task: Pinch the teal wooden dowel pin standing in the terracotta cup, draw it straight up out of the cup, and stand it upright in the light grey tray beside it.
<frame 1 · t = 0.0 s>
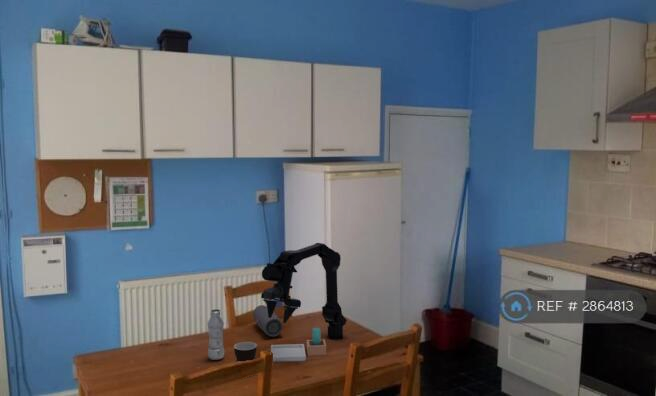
hand: (276, 320, 220), 15 cm above the table, tool pointing down, fingers open, 9 cm apart
dowel pin: (316, 340, 227), in the pin cup
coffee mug: (247, 370, 209), on the table
grey tray: (287, 354, 224), on the table
pin cup: (316, 352, 227), on the table
plastic bottle: (216, 359, 220), on the table
bluetooth speaker: (267, 331, 253), on the table
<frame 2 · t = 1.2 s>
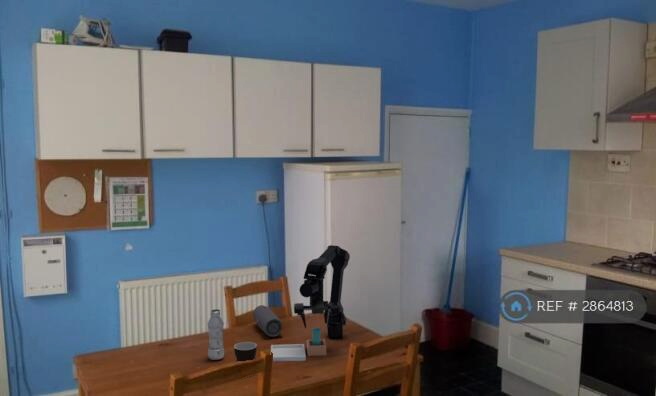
hand: (316, 327, 227), 10 cm above the table, tool pointing down, fingers open, 9 cm apart
nothing on the table moved.
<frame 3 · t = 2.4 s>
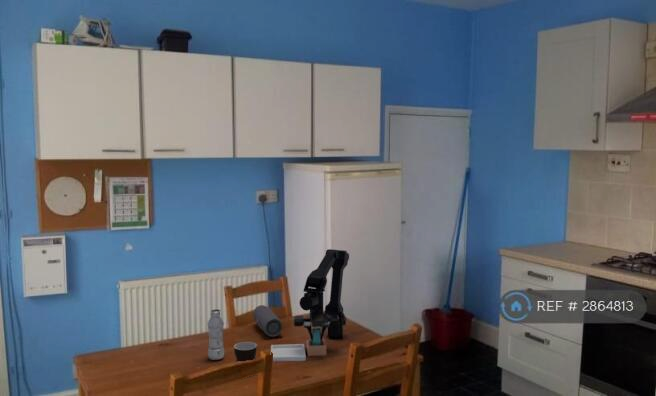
hand: (316, 340, 227), 5 cm above the table, tool pointing down, fingers closed on dowel pin, 3 cm apart
dowel pin: (316, 340, 227), in the pin cup, touching gripper
everything else where it was.
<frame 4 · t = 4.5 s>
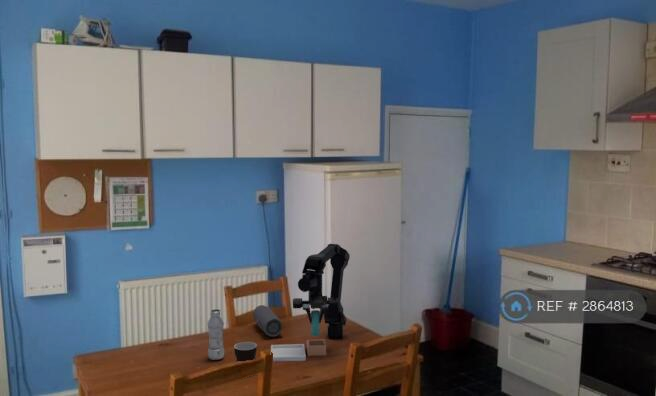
hand: (315, 323, 226), 13 cm above the table, tool pointing down, fingers closed on dowel pin, 3 cm apart
dowel pin: (315, 323, 226), point 12 cm above the table, touching gripper
everything else where it was.
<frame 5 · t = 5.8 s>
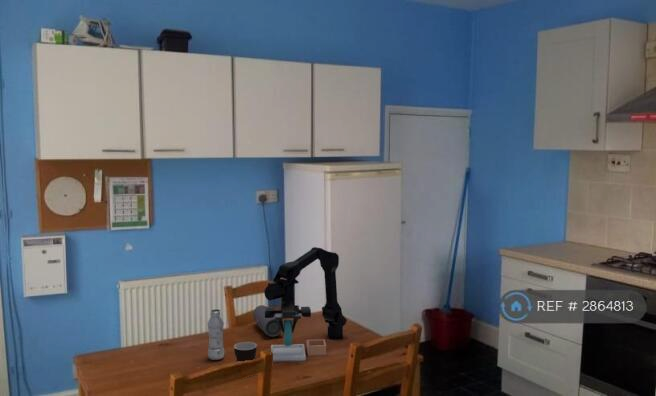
hand: (288, 332, 224), 9 cm above the table, tool pointing down, fingers closed on dowel pin, 3 cm apart
dowel pin: (288, 332, 224), point 9 cm above the table, touching gripper
everything else where it was.
when the fingers open (7 cm above the table, at t = 6.8 s): dowel pin drops 2 cm, resting on grey tray.
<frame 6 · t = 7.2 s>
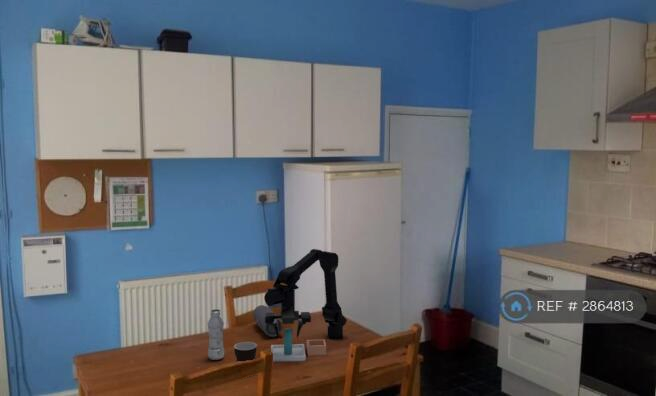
hand: (287, 337, 224), 7 cm above the table, tool pointing down, fingers open, 7 cm apart
dowel pin: (288, 341, 224), in the grey tray, point 6 cm above the table
everything else where it was.
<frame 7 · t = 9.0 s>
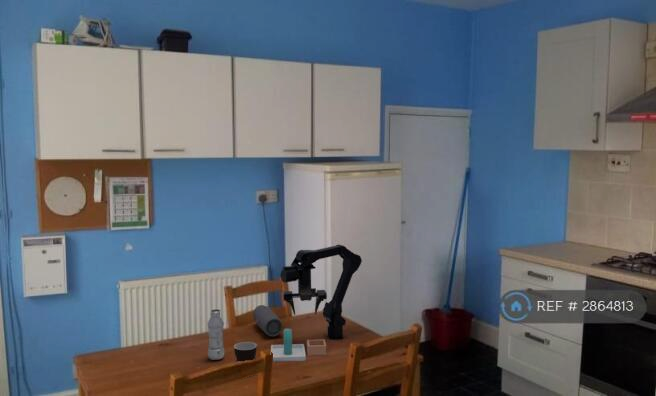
hand: (305, 314, 237), 13 cm above the table, tool pointing down, fingers open, 9 cm apart
nothing on the table moved.
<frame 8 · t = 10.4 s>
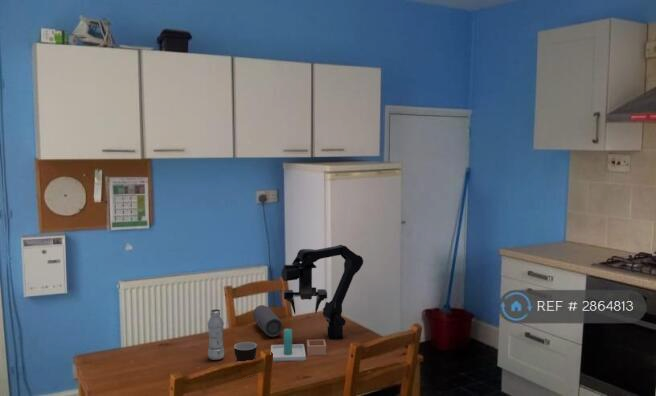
hand: (305, 313, 238), 13 cm above the table, tool pointing down, fingers open, 9 cm apart
nothing on the table moved.
at the end: dowel pin inside the target area on the grey tray (0.0 cm from its centre), point 5.6 cm above the grey tray's base; dowel pin tilted 0°; the gripper is holding nothing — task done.
